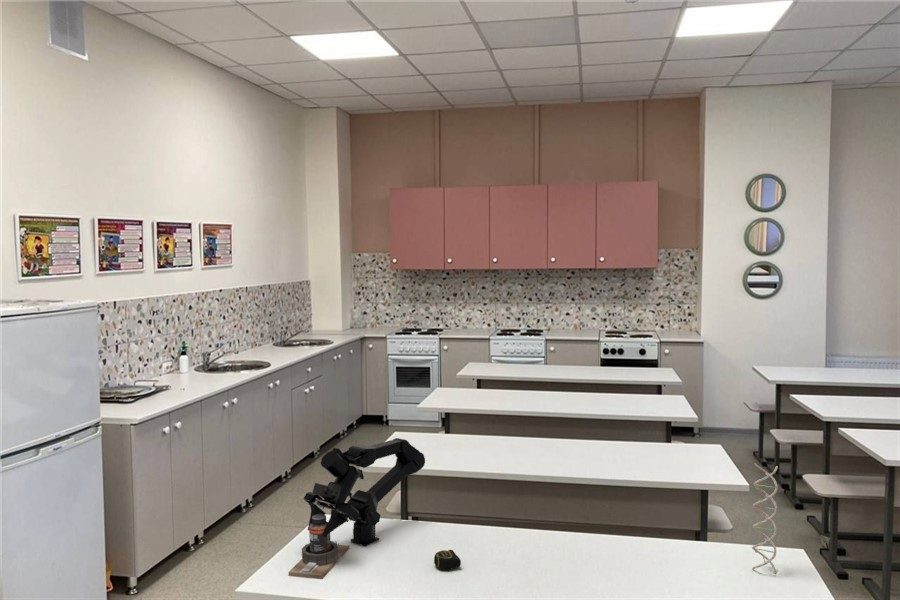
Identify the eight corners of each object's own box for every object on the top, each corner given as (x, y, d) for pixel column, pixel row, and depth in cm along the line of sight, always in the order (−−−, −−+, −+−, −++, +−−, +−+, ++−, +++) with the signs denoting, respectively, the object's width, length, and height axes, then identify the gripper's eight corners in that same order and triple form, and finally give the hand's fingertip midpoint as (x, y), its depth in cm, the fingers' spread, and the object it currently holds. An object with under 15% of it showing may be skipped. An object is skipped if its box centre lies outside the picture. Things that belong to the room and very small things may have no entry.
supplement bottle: (329, 548, 207) (328, 511, 206) (332, 557, 201) (331, 518, 200) (309, 551, 205) (307, 513, 204) (311, 560, 200) (309, 521, 199)
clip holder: (318, 545, 214) (318, 533, 214) (349, 548, 212) (349, 535, 211) (288, 575, 195) (288, 561, 194) (322, 578, 192) (321, 564, 192)
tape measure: (461, 570, 197) (461, 557, 197) (438, 574, 195) (438, 560, 194) (454, 560, 203) (454, 547, 203) (431, 563, 201) (431, 550, 201)
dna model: (777, 569, 194) (780, 462, 192) (776, 578, 189) (778, 469, 187) (751, 564, 198) (753, 459, 196) (749, 573, 192) (751, 465, 190)
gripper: (306, 465, 210) (278, 513, 202) (350, 477, 199) (322, 528, 191) (327, 483, 217) (301, 530, 209) (371, 496, 205) (344, 546, 198)
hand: (316, 533), depth 202 cm, fingers closed on supplement bottle, 6 cm apart
